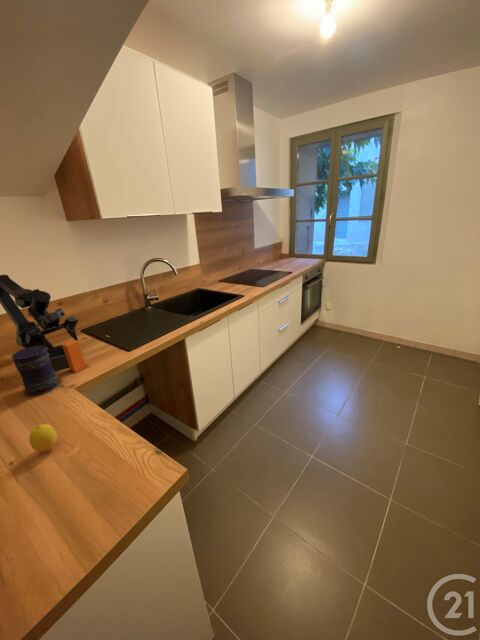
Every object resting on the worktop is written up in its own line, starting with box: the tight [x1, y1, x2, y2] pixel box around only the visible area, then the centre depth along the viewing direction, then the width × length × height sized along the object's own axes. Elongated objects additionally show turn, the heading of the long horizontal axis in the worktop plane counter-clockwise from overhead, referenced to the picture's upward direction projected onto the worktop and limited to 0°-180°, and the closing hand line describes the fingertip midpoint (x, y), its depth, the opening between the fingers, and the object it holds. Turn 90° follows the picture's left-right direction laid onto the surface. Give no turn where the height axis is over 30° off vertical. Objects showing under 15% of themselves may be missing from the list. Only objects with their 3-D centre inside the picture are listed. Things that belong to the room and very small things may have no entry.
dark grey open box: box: [46, 344, 70, 372], centre depth 113 cm, size 14×13×6 cm
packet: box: [61, 339, 87, 373], centre depth 106 cm, size 3×5×12 cm
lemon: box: [28, 423, 58, 452], centre depth 68 cm, size 6×6×8 cm
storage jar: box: [11, 346, 59, 396], centre depth 94 cm, size 10×10×15 cm
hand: (66, 345), depth 106 cm, fingers open, 9 cm apart
